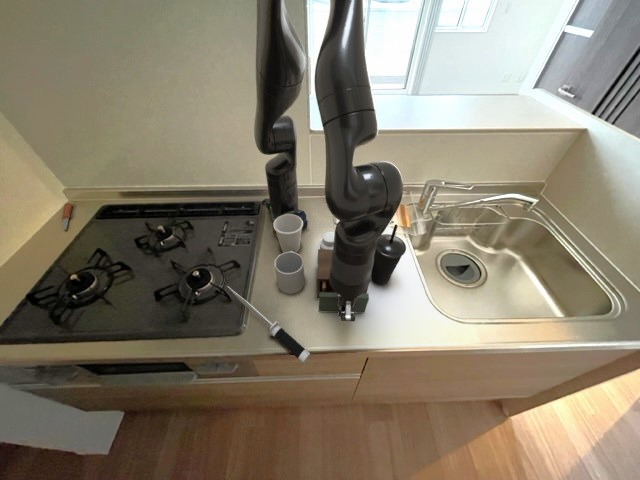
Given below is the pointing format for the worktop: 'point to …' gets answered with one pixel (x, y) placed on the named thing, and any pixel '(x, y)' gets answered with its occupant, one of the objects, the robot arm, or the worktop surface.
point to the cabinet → (325, 268)
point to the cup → (289, 272)
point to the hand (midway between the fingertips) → (342, 314)
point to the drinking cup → (386, 257)
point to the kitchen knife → (66, 214)
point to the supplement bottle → (327, 241)
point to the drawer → (330, 301)
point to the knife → (278, 333)
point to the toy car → (299, 214)
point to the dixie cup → (288, 232)
